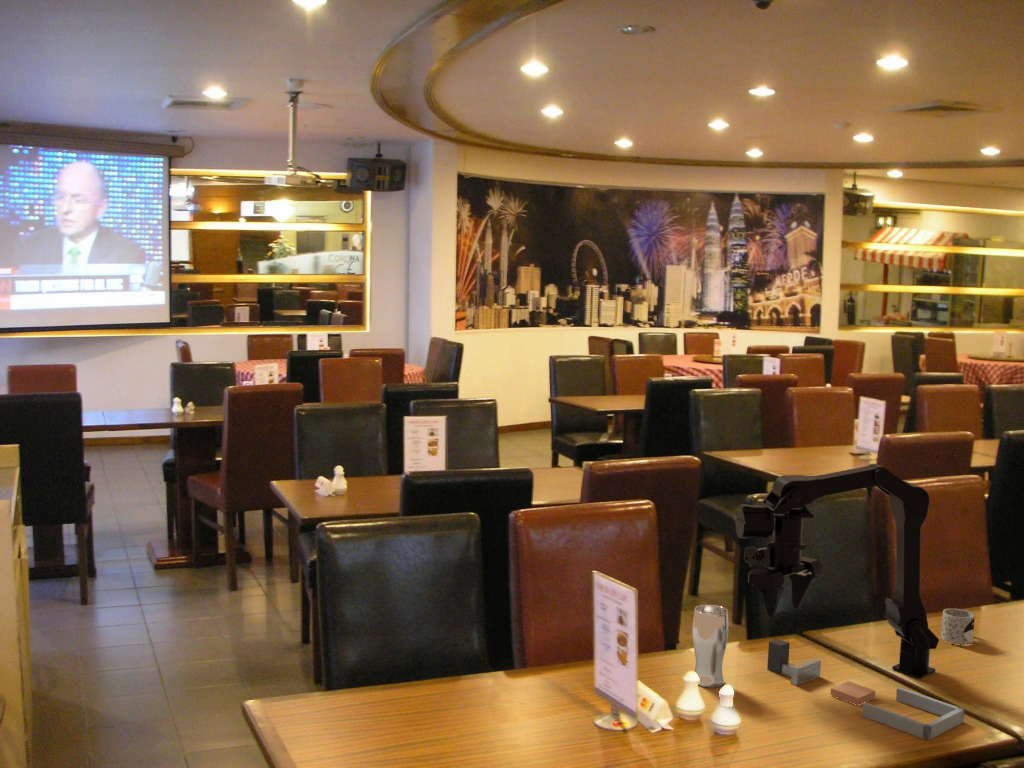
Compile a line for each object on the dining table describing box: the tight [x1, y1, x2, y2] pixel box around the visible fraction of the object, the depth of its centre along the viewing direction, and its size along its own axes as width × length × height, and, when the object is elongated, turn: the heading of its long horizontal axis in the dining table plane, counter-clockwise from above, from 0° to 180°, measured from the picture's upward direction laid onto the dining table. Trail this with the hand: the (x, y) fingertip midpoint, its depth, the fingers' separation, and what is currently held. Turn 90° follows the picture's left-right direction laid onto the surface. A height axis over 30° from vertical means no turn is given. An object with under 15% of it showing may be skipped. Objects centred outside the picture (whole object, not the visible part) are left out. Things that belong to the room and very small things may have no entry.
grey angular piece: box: [767, 638, 822, 687], centre depth 212 cm, size 8×9×6 cm
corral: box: [861, 687, 966, 741], centre depth 192 cm, size 13×13×2 cm
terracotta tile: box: [830, 680, 876, 706], centre depth 201 cm, size 6×6×2 cm
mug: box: [940, 608, 976, 645], centre depth 236 cm, size 10×7×7 cm
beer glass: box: [692, 604, 729, 689], centre depth 207 cm, size 7×7×15 cm
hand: (783, 612), depth 213 cm, fingers open, 9 cm apart
